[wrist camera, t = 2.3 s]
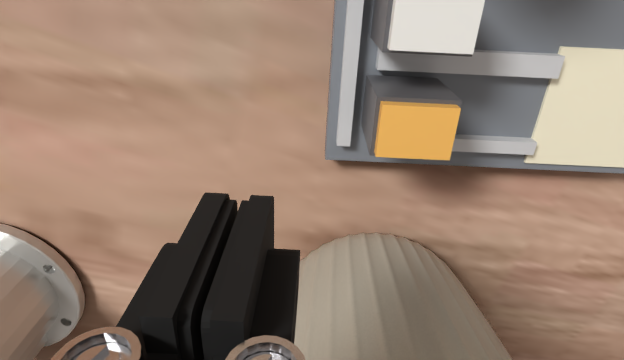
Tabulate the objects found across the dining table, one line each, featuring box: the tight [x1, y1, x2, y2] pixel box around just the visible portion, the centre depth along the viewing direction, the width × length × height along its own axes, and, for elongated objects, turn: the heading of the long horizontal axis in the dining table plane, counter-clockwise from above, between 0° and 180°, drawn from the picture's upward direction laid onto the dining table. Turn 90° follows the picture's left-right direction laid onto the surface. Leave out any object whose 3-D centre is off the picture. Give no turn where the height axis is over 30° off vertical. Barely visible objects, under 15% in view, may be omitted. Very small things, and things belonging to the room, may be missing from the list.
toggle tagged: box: [361, 75, 462, 160], centre depth 21 cm, size 3×4×5 cm
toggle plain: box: [371, 0, 485, 57], centre depth 19 cm, size 3×4×5 cm
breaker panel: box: [325, 0, 624, 173], centre depth 23 cm, size 13×20×2 cm, turn 87°
